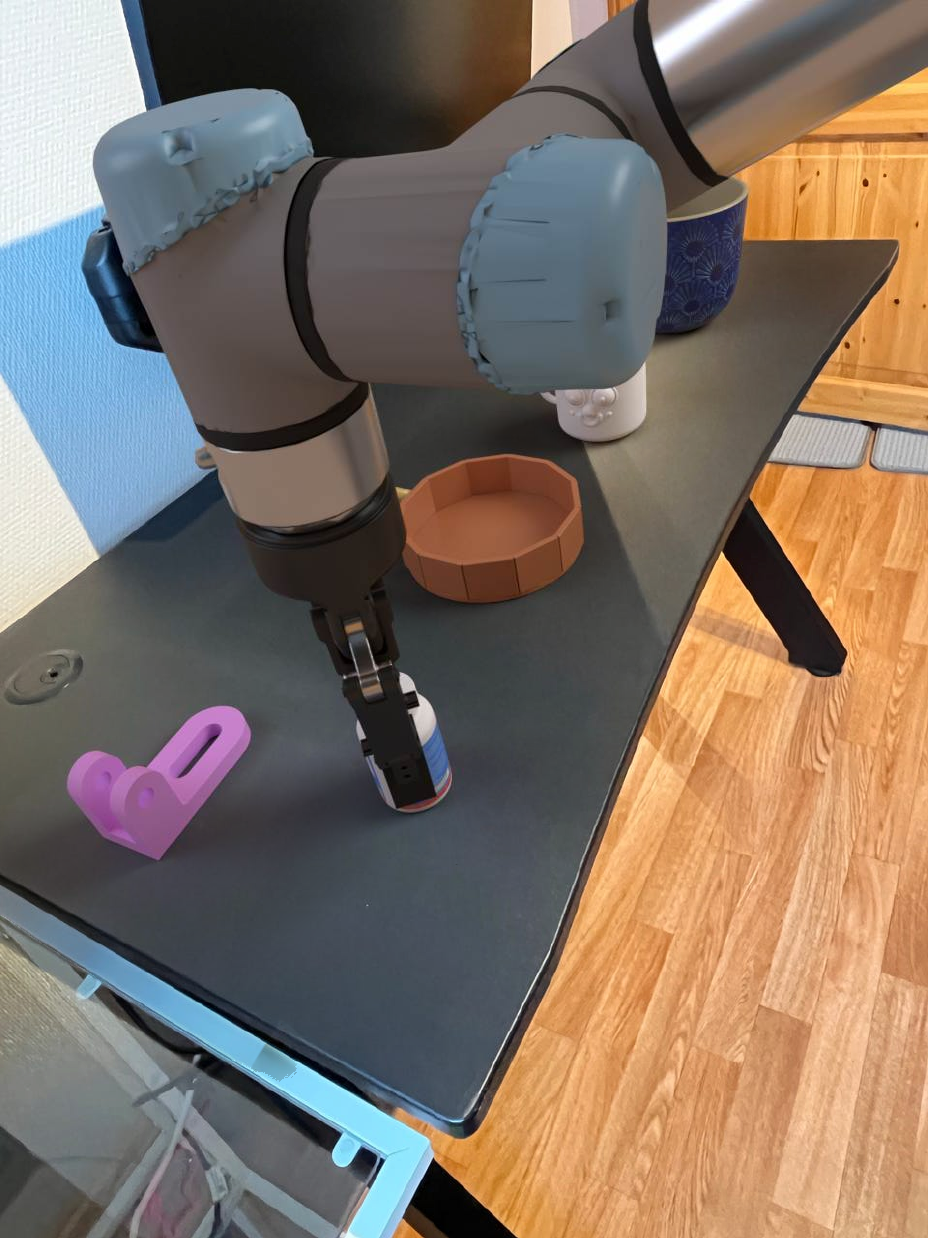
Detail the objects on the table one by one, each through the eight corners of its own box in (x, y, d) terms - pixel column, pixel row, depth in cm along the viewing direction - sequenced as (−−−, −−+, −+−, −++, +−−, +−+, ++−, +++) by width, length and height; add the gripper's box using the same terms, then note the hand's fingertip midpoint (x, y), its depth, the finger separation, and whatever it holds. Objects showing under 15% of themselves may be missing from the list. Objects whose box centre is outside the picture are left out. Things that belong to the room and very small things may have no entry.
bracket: (158, 860, 60) (115, 803, 55) (103, 837, 62) (57, 780, 58) (264, 726, 68) (234, 666, 63) (211, 710, 70) (179, 651, 66)
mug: (526, 447, 93) (516, 371, 87) (552, 400, 100) (544, 326, 94) (635, 452, 88) (632, 372, 82) (654, 403, 95) (653, 326, 89)
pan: (611, 510, 82) (609, 469, 79) (531, 622, 72) (525, 581, 69) (378, 465, 95) (369, 430, 92) (284, 555, 85) (270, 518, 82)
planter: (753, 292, 112) (761, 168, 102) (726, 351, 102) (732, 218, 92) (629, 291, 119) (625, 174, 109) (591, 345, 109) (583, 222, 99)
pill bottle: (467, 770, 61) (443, 678, 55) (425, 826, 58) (394, 736, 52) (408, 744, 64) (378, 654, 58) (365, 796, 61) (328, 707, 55)
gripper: (226, 444, 43) (343, 737, 59) (238, 597, 34) (375, 899, 49) (367, 406, 44) (446, 706, 59) (419, 545, 34) (497, 860, 50)
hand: (414, 793), depth 54 cm, fingers closed
